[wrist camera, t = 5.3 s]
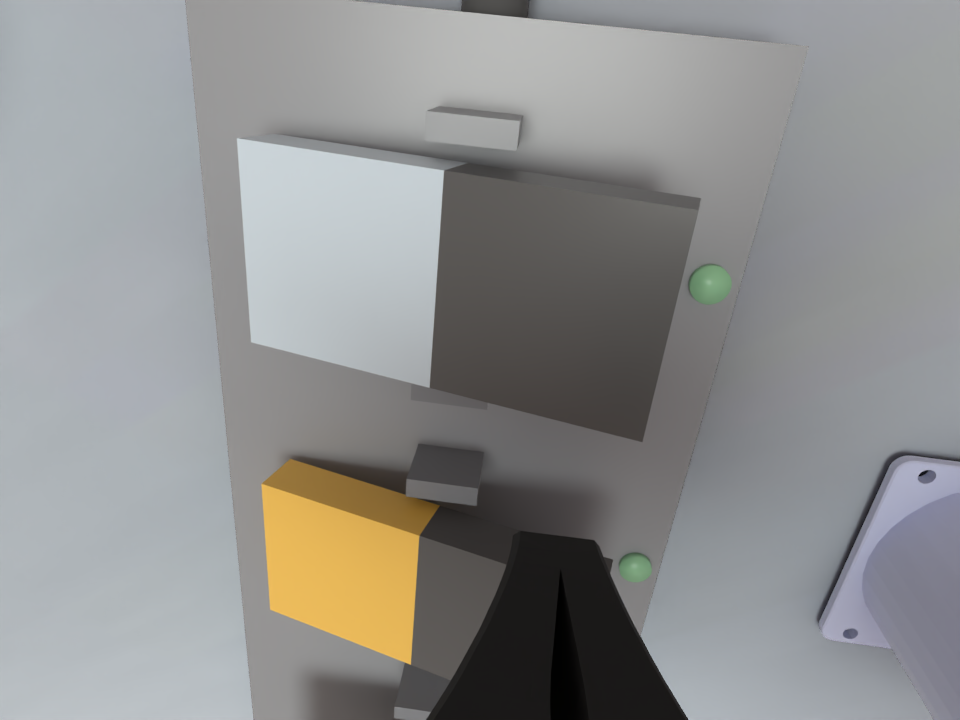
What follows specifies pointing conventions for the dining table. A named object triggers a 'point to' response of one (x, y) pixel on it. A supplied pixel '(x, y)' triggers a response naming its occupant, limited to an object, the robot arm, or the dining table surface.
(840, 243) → the dining table surface
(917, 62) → the dining table surface
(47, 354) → the dining table surface
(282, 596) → the block
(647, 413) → the rocker
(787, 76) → the rocker switch panel
